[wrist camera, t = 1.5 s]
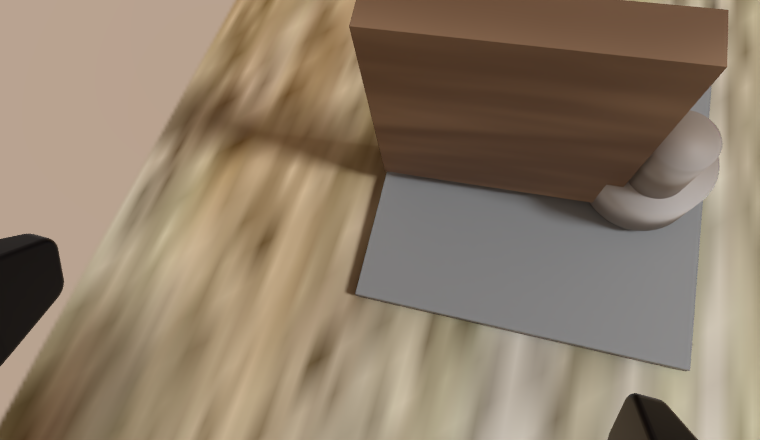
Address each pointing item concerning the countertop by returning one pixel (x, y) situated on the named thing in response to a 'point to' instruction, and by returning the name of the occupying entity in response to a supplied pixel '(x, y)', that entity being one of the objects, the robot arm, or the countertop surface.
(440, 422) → the countertop surface
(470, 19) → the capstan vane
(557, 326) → the slate base
